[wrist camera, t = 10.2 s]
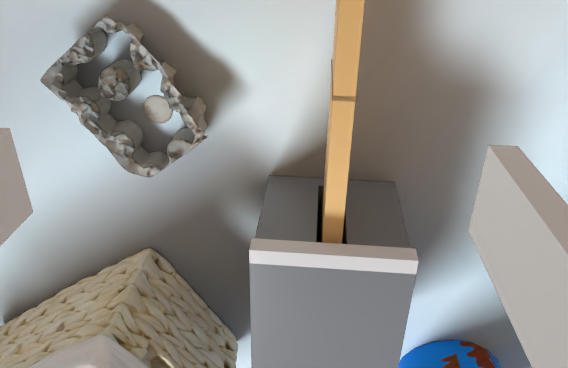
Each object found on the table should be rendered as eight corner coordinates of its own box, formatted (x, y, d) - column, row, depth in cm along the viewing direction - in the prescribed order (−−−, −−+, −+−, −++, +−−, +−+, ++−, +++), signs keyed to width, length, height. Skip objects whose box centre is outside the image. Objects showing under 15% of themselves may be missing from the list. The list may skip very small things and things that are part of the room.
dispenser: (375, 312, 46) (387, 422, 36) (268, 305, 46) (252, 410, 37) (396, 171, 38) (418, 260, 29) (269, 164, 39) (248, 250, 29)
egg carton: (224, 120, 38) (213, 142, 34) (154, 167, 40) (137, 193, 37) (128, 1, 34) (104, 12, 30) (56, 61, 36) (27, 78, 33)
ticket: (337, 219, 39) (339, 279, 32) (321, 218, 39) (319, 278, 32) (365, -105, 28) (376, -108, 21) (342, -105, 28) (346, -109, 21)
